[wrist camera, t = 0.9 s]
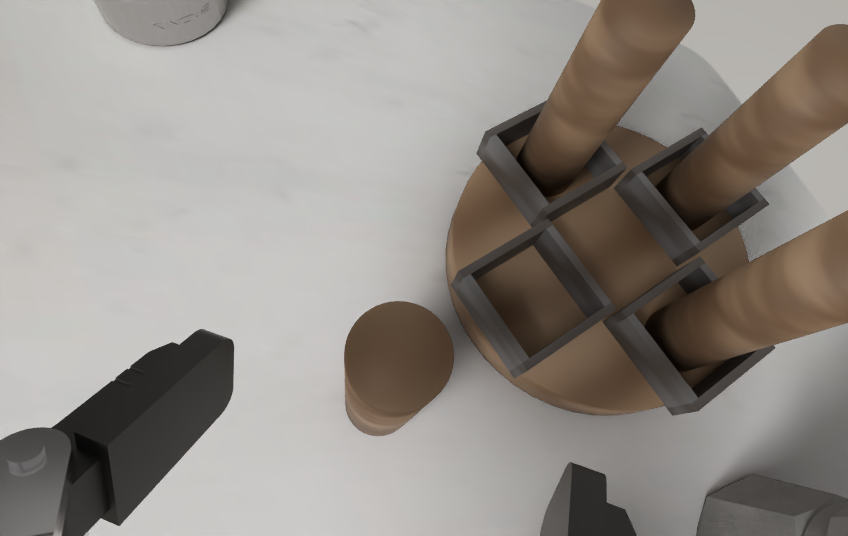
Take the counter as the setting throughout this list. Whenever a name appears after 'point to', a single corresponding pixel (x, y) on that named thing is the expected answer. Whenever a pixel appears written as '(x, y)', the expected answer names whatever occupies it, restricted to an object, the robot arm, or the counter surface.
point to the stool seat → (643, 228)
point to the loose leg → (394, 365)
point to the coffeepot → (772, 510)
